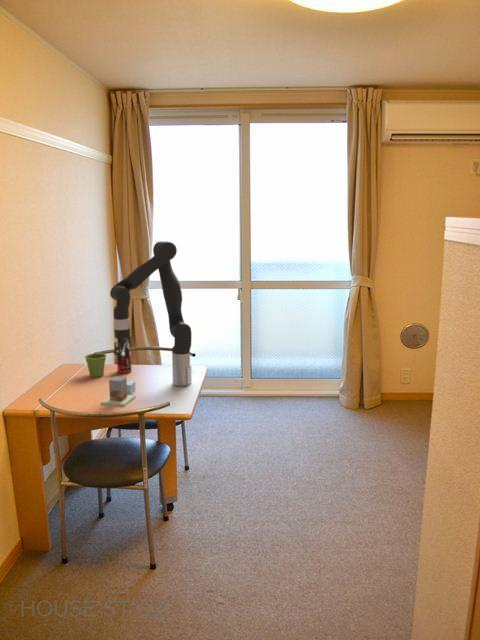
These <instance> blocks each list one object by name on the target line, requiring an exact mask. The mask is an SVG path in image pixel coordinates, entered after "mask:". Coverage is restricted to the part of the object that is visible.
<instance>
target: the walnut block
mask: <svg viewBox="0 0 480 640" xmlns="http://www.w3.org/2000/svg"><path fill="white" fill-rule="evenodd" d="M109 396H110V400H111V401H123V400H124V399H125V398H127V388H125V389H124V390H122V391H111V390H109Z"/></svg>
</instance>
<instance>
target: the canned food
mask: <svg viewBox="0 0 480 640" xmlns="http://www.w3.org/2000/svg"><path fill="white" fill-rule="evenodd" d="M122 359H123V362H122V363H118V358H117V357H116V361H117V362H116V364H117V366H116V367H117V373H118V374H120V375H121V374H122V375H126V374H130V373H132V354H131V352H130V357H129V358H125V350H124V351H123V353H122Z"/></svg>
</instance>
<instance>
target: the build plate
mask: <svg viewBox="0 0 480 640" xmlns="http://www.w3.org/2000/svg"><path fill="white" fill-rule="evenodd" d="M135 398H136V395H135V394H134V395H132V394H131V395H127V398H125V399H124V400H123V401H111V400H110V395H109V396H107V397H106V398H104V399H103V400H102V401H101V402H100V403H101V405H107V406H116V405H120V406H119V407H126V406H127V405H128V404H129V403H131V402H132V401H133V400H134V399H135Z"/></svg>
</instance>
